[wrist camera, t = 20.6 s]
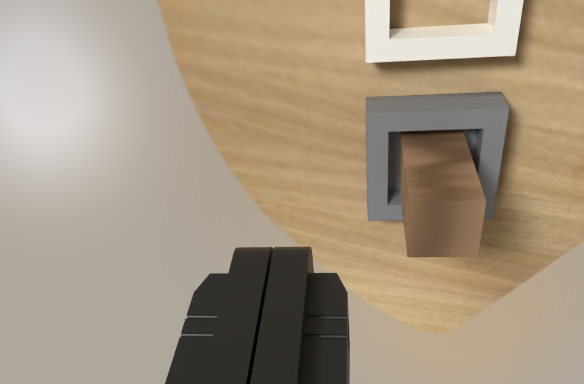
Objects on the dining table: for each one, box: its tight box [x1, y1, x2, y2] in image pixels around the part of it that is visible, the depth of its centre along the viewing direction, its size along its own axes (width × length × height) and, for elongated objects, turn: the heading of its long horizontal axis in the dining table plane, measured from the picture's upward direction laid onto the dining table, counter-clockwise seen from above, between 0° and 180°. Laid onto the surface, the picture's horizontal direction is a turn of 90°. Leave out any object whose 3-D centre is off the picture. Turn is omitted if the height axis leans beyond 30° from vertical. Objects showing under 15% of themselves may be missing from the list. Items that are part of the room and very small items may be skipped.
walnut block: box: [398, 129, 486, 257], centre depth 39 cm, size 4×4×9 cm
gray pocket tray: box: [366, 92, 509, 221], centre depth 42 cm, size 10×10×2 cm
